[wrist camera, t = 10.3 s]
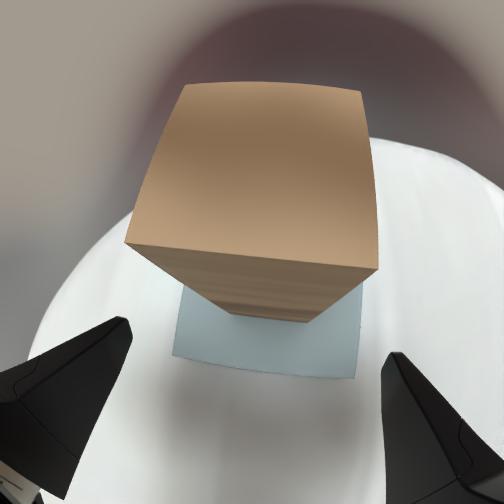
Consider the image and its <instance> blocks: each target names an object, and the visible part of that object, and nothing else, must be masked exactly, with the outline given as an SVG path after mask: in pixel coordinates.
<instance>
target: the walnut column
mask: <svg viewBox="0 0 504 504" xmlns="http://www.w3.org/2000/svg"><path fill="white" fill-rule="evenodd" d="M124 243H126V244H127V245H128V246H130V247H131V248H132V249H134V250H135V251H137V252H138V253H139V254H141V255H142V256H144V257H145V258H146V259H148V260H149V261H151V262H152V263H153V264H155V265H156V266H158V267H159V268H161V269H162V270H163V271H165V272H166V273H168V274H169V275H171V276H172V277H174V278H175V279H177V280H178V281H180V282H181V283H183V284H184V285H186V286H187V287H189V288H190V289H192V290H193V291H195V292H196V293H198V294H199V295H201V296H202V297H204V298H205V299H207V300H209V301H210V302H212V303H213V304H215V305H216V306H218V307H220V308H221V309H223V310H224V311H226V312H228V313H229V314H234V315H241V316H249V317H256V318H264V319H273V320H282V321H291V322H301V323H308V322H310V321H311V320H313V319H314V318H315V317H317V316H318V315H320V314H321V313H322V312H324V311H325V310H326V309H328V308H329V307H331V306H332V305H333V304H335V303H336V302H337V301H339V300H340V299H341V298H343V297H344V296H345V295H346V294H348V293H349V292H350V291H352V290H353V289H354V288H355V287H357V286H358V285H359V284H361V283H362V282H363V281H364V280H366V279H367V278H368V277H369V276H371V275H372V274H373V273H374V272H375V271H377V270H378V223H377V205H376V192H375V181H374V172H373V163H372V155H371V148H370V141H369V134H368V128H367V123H366V117H365V111H364V106H363V101H362V96H361V92H360V91H354V90H348V89H342V88H335V87H327V86H317V85H308V84H296V83H295V84H294V83H279V82H219V83H202V84H191V85H185V87H184V89H183V91H182V93H181V95H180V97H179V99H178V101H177V103H176V105H175V107H174V109H173V111H172V113H171V116H170V118H169V120H168V122H167V125H166V127H165V129H164V131H163V133H162V136H161V138H160V141H159V143H158V145H157V148H156V150H155V153H154V155H153V158H152V160H151V163H150V165H149V168H148V171H147V173H146V176H145V179H144V182H143V184H142V187H141V190H140V193H139V196H138V199H137V202H136V205H135V208H134V211H133V214H132V217H131V221H130V224H129V227H128V231H127V234H126V237H125V241H124Z"/></svg>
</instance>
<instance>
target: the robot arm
mask: <svg viewBox="0 0 504 504" xmlns="http://www.w3.org/2000/svg"><path fill="white" fill-rule="evenodd" d="M132 339H133V335H132V331H131V328H130V325H129V321H128V320H127V319H126V318H124V317H120V316H116V317H114V318H112V319H110V320H108V321H106V322H104V323H102V324H100V325H98V326H96V327H94V328H92V329H90V330H88V331H86V332H84V333H82V334H80V335H78V336H76V337H74V338H72V339H70V340H68V341H66V342H64V343H62V344H60V345H58V346H56V347H54V348H52V349H50V350H48V351H47V352H45V353H43V354H41V355H39V356H37V357H35V358H33V359H31V360H29V361H26V362H25V363H22V364H20V365H18V366H15V367H13V368H10V369H8V370H5V371H3V372H0V504H44V502H43V499H42V496H41V493H40V492H39V490H40V488H42V489H44V490H45V491H47V492H49V493H51V494H53V495H54V496H56V497H58V498H60V499H62V500H64V499H65V497H66V494H67V491H68V489H69V486H70V483H71V481H72V478H73V476H74V473H75V471H76V468H77V466H78V463H79V460H80V458H81V456H82V453H83V451H84V449H85V446H86V444H87V442H88V440H89V437H90V435H91V433H92V431H93V428H94V426H95V424H96V422H97V420H98V417H99V415H100V413H101V411H102V409H103V407H104V405H105V403H106V401H107V398H108V396H109V394H110V392H111V390H112V388H113V386H114V384H115V382H116V380H117V378H118V376H119V374H120V371H121V369H122V366H123V364H124V361H125V358H126V356H127V353H128V350H129V348H130V345H131V343H132ZM381 413H382V424H383V435H384V449H385V467H386V504H504V460H503V459H502V458H501V457H500V456H499V455H498V454H497V453H496V452H495V451H493V450H492V449H491V448H490V447H489V446H488V445H487V444H486V443H485V442H484V441H483V440H482V439H481V438H480V437H479V436H478V435H477V434H476V433H475V432H474V431H473V429H472V428H471V427H470V426H469V425H468V424H467V423H466V422H465V420H464V419H463V418H462V419H461V416H460V415H459V414H458V413H457V411H456V410H455V409H454V408H453V407H452V406H451V405H450V404H449V402H448V401H447V400H446V399H445V398H444V397H443V396H442V395H441V394H440V392H439V391H438V390H437V389H436V388H435V387H434V386H433V385H432V384H431V383H430V381H429V380H428V379H427V378H426V377H425V376H424V375H423V374H422V373H421V372H420V371H419V370H418V369H417V367H416V366H415V365H414V364H413V363H412V362H411V361H410V360H409V359H408V358H407V357H406V356H405V355H404V354H403V353H402V352H391V353H390V354H389V355H388V357H387V359H386V361H385V363H384V365H383V367H382V370H381Z"/></svg>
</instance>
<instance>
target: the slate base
mask: <svg viewBox="0 0 504 504" xmlns="http://www.w3.org/2000/svg"><path fill="white" fill-rule="evenodd" d="M362 290H363V282H362V283H361V284H359V285H358V286H357V287H355V288H354V289H353V290H352V291H350V292H349V293H348V294H346V295H345V296H344V297H343V298H341V299H340V300H339V301H337V302H336V303H335V304H333V305H332V306H331V307H329V308H328V309H326V310H325V311H324V312H322V313H321V314H320V315H318V316H317V317H315V318H314V319H313V320H311V321H310V322H308V323H301V322H291V321H282V320H273V319H264V318H256V317H249V316H241V315H234V314H229V313H228V312H226V311H224V310H223V309H221V308H220V307H218V306H216V305H215V304H213V303H212V302H210V301H209V300H207V299H205V298H204V297H202V296H201V295H199V294H198V293H196V292H195V291H193V290H192V289H190V288H189V287H187V286H186V285H184V287H183V292H182V297H181V303H180V309H179V314H178V320H177V326H176V333H175V339H174V346H173V352H172V356H177V357H181V358H186V359H190V360H195V361H200V362H205V363H210V364H216V365H221V366H227V367H233V368H240V369H246V370H253V371H261V372H269V373H277V374H287V375H297V376H309V377H325V378H348V379H354V377H355V370H356V362H357V354H358V344H359V334H360V322H361V308H362Z"/></svg>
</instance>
